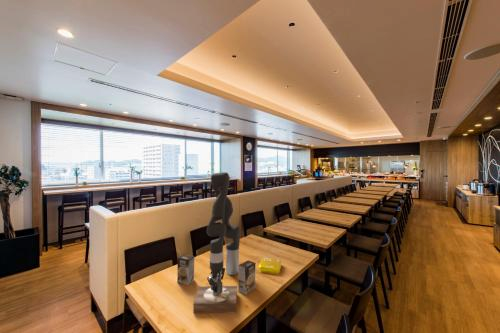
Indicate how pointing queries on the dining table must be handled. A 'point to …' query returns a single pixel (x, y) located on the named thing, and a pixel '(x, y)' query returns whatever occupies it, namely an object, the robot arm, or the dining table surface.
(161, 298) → the dining table surface
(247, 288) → the coffee box
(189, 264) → the coffee box
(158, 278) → the dining table surface
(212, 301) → the tuner box
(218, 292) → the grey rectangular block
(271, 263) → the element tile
